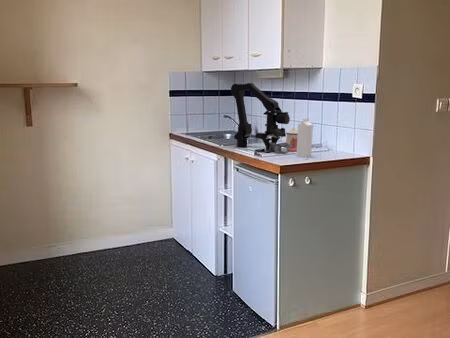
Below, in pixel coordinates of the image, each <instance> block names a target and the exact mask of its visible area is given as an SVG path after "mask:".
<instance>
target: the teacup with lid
mask: <svg viewBox="0 0 450 338" xmlns="http://www.w3.org/2000/svg"><path fill="white" fill-rule="evenodd" d="M285 133H286V139H285V143H287V144H288V146H292V141H293V138H297V136H298V129H296V128H295V127H293V128H291V129H290V130H287V131H285Z"/></svg>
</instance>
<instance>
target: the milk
mask: <svg viewBox="0 0 450 338" xmlns="http://www.w3.org/2000/svg"><path fill="white" fill-rule="evenodd" d="M313 129H314V124H313V123H311V122H310V121H309V118H303V119H302V122H300V123H299V124H297V131H298V136H297V147H296V148H297V151H296V157H301V158H306V159H304V160H308V159H307V157H312V146H313V145H312V144H313Z"/></svg>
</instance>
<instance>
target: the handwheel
mask: <svg viewBox="0 0 450 338" xmlns="http://www.w3.org/2000/svg"><path fill="white" fill-rule="evenodd" d="M291 152H292V153H297V138H293V141H292V146H291V145H288V153H291Z"/></svg>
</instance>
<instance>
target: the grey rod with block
mask: <svg viewBox="0 0 450 338" xmlns="http://www.w3.org/2000/svg"><path fill="white" fill-rule="evenodd" d="M275 144H277V143H274V142H271V141H269V149H268V150H267V149H266V148H265V150H266V151H268V152H273V151H274V152H275ZM287 150H288V149H287V148H286V147H283V146H280V151H281V152H287Z"/></svg>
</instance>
